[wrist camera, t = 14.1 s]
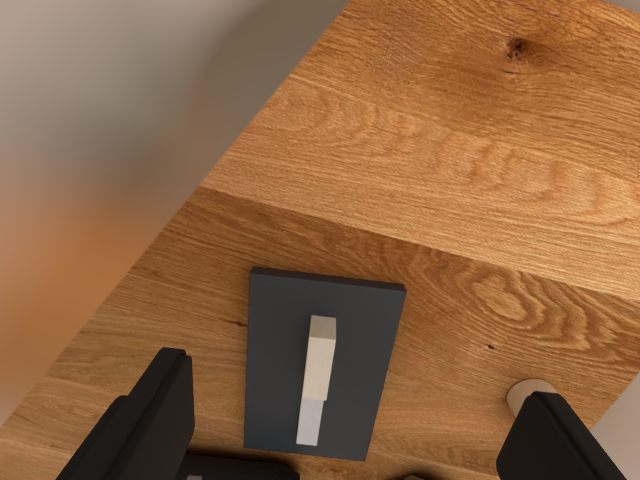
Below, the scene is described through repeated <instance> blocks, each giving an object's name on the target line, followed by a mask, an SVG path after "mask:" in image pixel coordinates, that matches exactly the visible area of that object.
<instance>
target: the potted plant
mask: <svg viewBox="0 0 640 480" xmlns="http://www.w3.org/2000/svg"><path fill="white" fill-rule="evenodd" d="M403 480H424V479H421V478H418V477H416V476H413V475H410V476H408V477H407V478H405V479H403Z"/></svg>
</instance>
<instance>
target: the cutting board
mask: <svg viewBox="0 0 640 480" xmlns="http://www.w3.org/2000/svg"><path fill="white" fill-rule="evenodd" d="M405 296H406V289H405V287H404V285H403V284H395V283H386V282H378V281H370V280H361V279H353V278H344V277H336V276H327V275H319V274H311V273H302V272H294V271H285V270H277V269H269V268H260V267H253V268H252V270H251V272H250V287H249V315H248V343H247V371H246V399H245V428H244V448H252V449H260V450H269V451H278V452H286V453H295V454H304V455H312V456H321V457H329V458H338V459H347V460H355V461H364V462H365V459H366V455H367V451H368V447H369V443H370V439H371V435H372V431H373V426H374V422H375V418H376V414H377V410H378V406H379V402H380V398H381V394H382V390H383V386H384V382H385V378H386V373H387V369H388V365H389V361H390V357H391V353H392V349H393V345H394V341H395V337H396V333H397V329H398V325H399V320H400V316H401V312H402V308H403V304H404V300H405ZM312 315H314V316H323V317H331V318H336V343H335V349H334V356H333V362H332V368H331V374H330V381H329V387H328V393H327V399H326V401H325V400H324V402H323V408H322V414H321V421H320V427H319V434H318V440H317V446H313V445H305V444H297V443H296V440H297V432H298V423H299V415H300V407H301V399H302V390H303V382H304V374H305V365H306V357H307V349H308V341H309V332H310V324H311V316H312Z"/></svg>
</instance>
